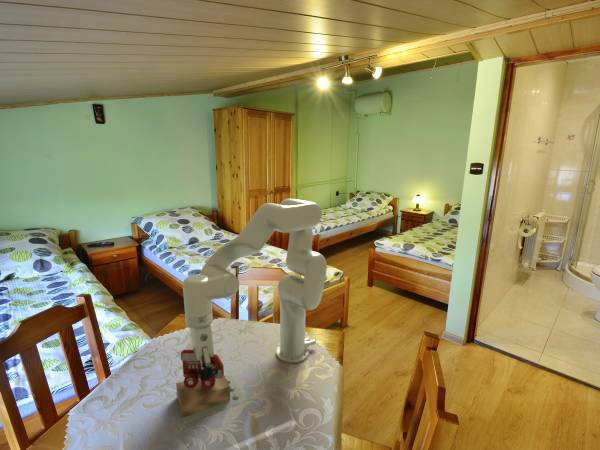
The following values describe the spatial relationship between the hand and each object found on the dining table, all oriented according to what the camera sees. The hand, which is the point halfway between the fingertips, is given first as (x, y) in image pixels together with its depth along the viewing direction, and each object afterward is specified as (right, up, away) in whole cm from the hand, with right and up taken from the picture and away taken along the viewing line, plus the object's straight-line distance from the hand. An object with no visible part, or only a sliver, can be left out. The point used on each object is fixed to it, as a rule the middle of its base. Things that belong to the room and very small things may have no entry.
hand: (202, 369), depth 97 cm
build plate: (+1, -11, +3) cm, 12 cm away
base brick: (0, -10, +2) cm, 10 cm away
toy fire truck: (0, -4, +1) cm, 4 cm away
